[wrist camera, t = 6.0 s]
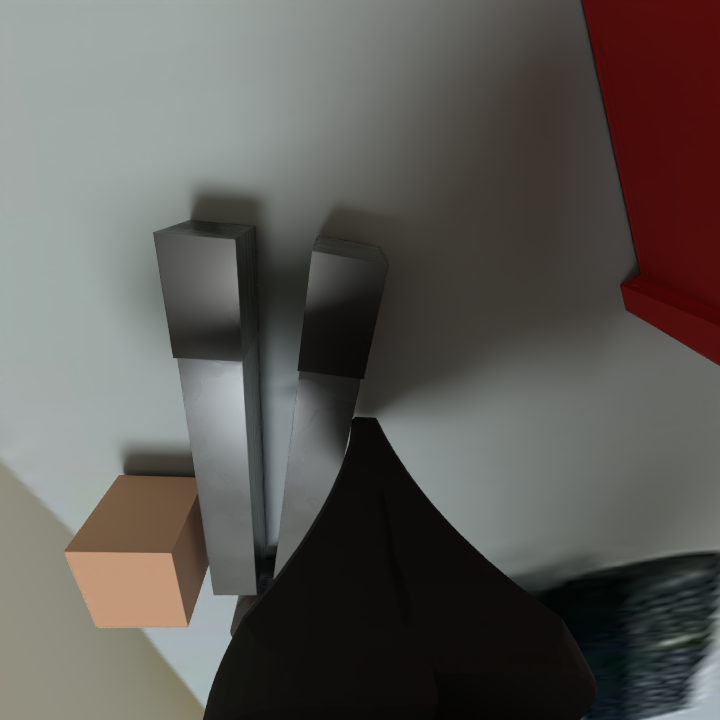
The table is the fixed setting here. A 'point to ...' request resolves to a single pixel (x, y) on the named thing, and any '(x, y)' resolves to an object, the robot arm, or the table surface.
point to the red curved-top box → (666, 155)
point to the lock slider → (142, 553)
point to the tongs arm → (325, 386)
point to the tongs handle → (219, 387)
